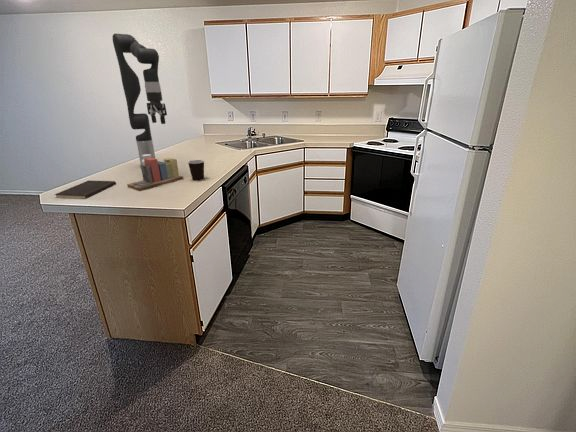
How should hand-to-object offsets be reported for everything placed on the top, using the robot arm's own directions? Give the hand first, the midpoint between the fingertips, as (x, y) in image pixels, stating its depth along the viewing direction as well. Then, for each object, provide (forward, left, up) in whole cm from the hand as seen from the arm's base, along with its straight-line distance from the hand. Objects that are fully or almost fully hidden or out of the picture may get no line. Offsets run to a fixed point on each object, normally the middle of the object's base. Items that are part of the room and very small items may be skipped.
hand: (158, 123), depth 168 cm
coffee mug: (+18, +8, -30) cm, 36 cm away
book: (+6, -12, -29) cm, 32 cm away
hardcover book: (-11, -39, -31) cm, 51 cm away
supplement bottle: (-8, -6, -30) cm, 32 cm away
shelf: (+6, -11, -30) cm, 33 cm away
